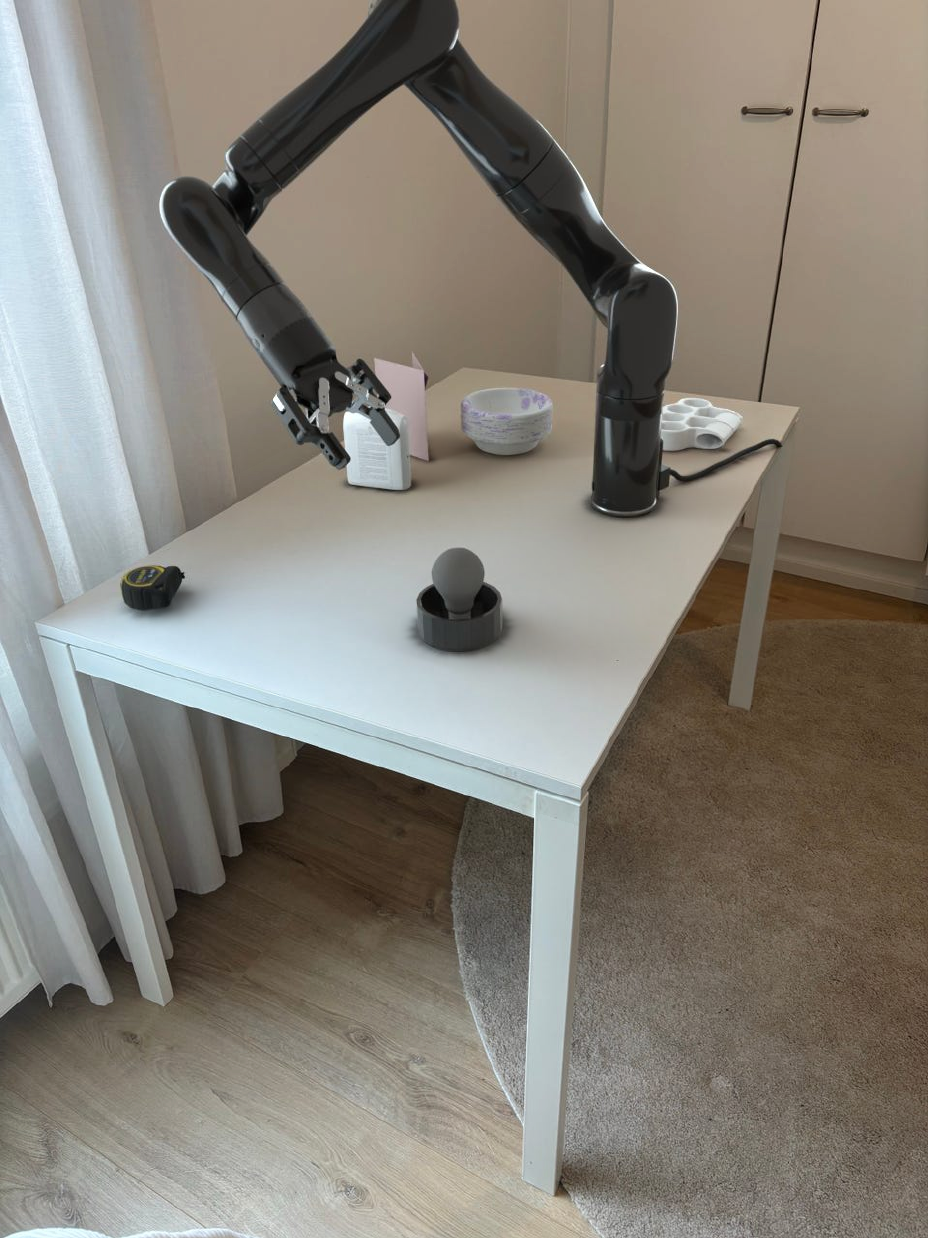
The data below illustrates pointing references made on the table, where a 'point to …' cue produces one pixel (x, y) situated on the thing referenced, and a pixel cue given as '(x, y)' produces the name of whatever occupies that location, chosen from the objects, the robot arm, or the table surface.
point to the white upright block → (377, 453)
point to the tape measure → (151, 586)
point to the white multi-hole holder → (697, 425)
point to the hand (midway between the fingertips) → (370, 453)
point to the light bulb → (458, 580)
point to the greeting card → (407, 399)
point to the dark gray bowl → (459, 632)
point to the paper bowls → (506, 419)
